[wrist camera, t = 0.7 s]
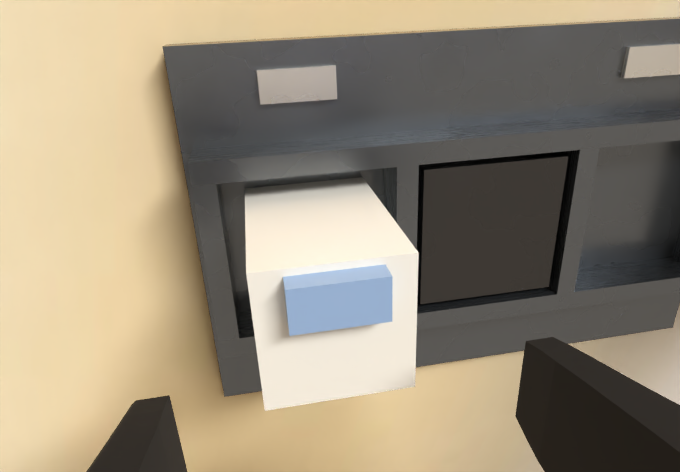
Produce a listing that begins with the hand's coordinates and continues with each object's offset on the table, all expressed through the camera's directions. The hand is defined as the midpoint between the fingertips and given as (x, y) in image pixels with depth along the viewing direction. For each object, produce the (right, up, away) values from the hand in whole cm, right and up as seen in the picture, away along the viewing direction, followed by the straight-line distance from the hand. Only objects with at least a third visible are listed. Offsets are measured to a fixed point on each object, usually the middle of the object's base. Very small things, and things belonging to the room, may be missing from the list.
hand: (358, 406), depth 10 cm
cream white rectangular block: (-2, +3, +8) cm, 8 cm away
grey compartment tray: (+4, +4, +9) cm, 11 cm away
